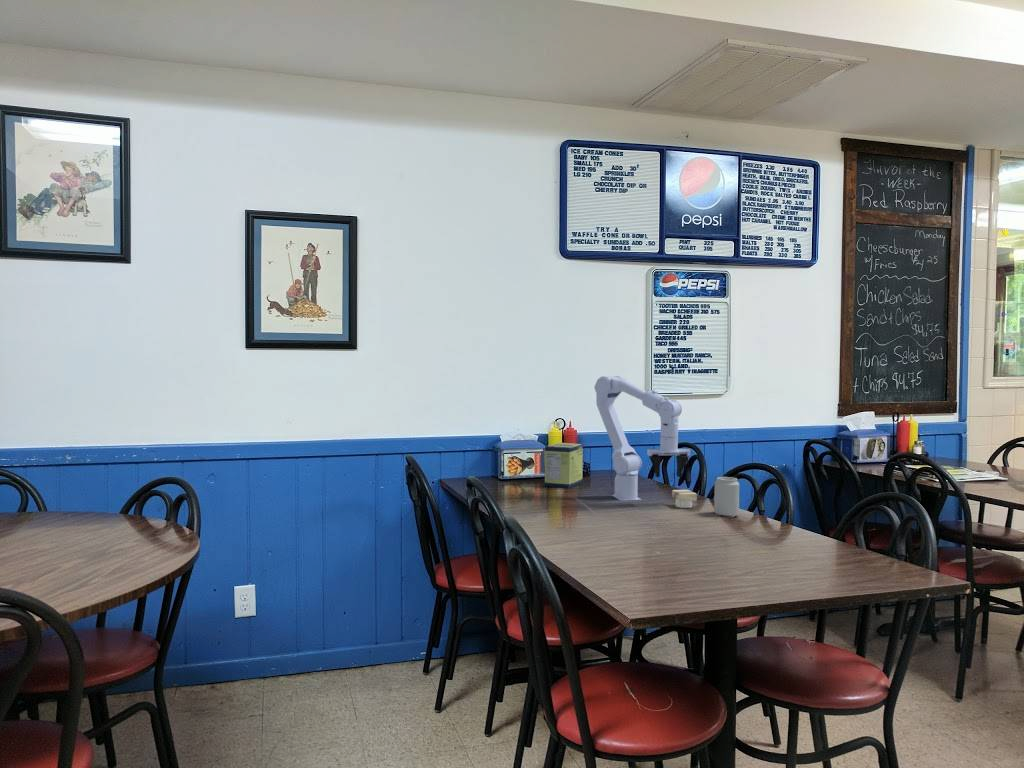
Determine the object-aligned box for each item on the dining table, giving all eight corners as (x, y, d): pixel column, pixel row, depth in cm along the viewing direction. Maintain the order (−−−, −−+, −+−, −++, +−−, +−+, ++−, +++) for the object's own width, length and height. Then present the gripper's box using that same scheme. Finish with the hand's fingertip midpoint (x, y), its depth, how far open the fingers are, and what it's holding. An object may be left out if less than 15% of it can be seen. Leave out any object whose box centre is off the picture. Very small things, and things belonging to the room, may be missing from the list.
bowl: (673, 506, 252) (673, 497, 252) (687, 506, 252) (688, 497, 252) (679, 509, 246) (679, 500, 246) (694, 509, 247) (694, 500, 247)
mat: (629, 504, 255) (629, 502, 255) (655, 503, 256) (655, 501, 256) (641, 511, 243) (641, 509, 243) (668, 510, 244) (668, 509, 244)
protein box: (582, 482, 299) (583, 443, 298) (569, 488, 285) (570, 447, 284) (558, 480, 303) (558, 442, 303) (544, 486, 289) (544, 446, 288)
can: (741, 518, 234) (742, 479, 234) (717, 517, 234) (718, 479, 234) (735, 513, 242) (735, 476, 241) (711, 512, 242) (712, 475, 241)
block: (672, 497, 252) (672, 490, 252) (687, 496, 253) (687, 489, 253) (680, 501, 245) (680, 494, 245) (696, 500, 246) (696, 493, 246)
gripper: (652, 438, 247) (651, 479, 248) (694, 437, 250) (693, 478, 250) (645, 435, 254) (644, 475, 255) (686, 435, 257) (685, 474, 257)
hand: (668, 476), depth 253 cm, fingers open, 7 cm apart
